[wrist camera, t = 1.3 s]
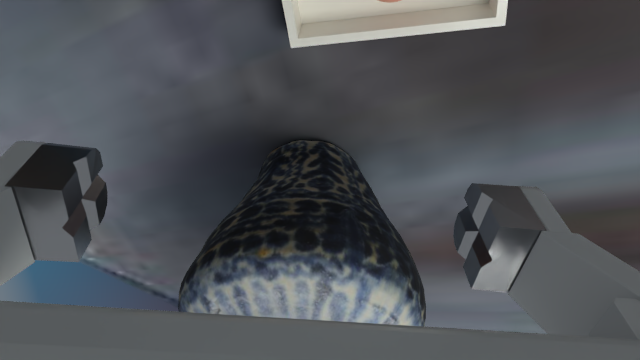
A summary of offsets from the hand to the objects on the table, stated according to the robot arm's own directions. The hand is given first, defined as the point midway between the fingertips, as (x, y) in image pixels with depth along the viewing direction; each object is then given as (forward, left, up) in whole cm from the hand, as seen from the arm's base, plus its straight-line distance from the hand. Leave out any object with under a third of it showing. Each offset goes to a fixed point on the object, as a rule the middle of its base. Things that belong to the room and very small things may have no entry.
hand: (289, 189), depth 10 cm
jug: (+6, +26, -31) cm, 40 cm away
